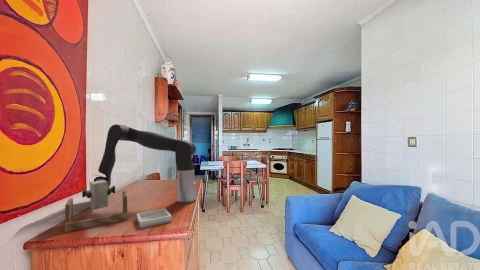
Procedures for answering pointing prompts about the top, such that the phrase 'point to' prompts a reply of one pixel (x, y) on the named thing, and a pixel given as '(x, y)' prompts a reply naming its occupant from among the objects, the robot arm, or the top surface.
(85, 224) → the two-post stand
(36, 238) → the top surface
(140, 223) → the dish
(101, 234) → the top surface
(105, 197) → the skincare box
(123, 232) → the top surface
